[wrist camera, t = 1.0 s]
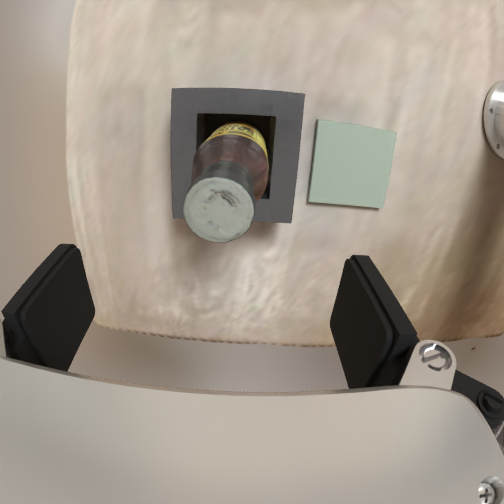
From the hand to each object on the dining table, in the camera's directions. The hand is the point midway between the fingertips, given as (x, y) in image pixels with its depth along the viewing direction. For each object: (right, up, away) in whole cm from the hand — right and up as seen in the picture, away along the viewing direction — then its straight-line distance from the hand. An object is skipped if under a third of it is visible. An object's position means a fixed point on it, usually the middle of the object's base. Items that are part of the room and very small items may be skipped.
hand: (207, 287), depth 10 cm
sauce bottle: (0, +13, +24) cm, 27 cm away
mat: (+14, +12, +25) cm, 31 cm away
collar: (0, +13, +24) cm, 27 cm away
